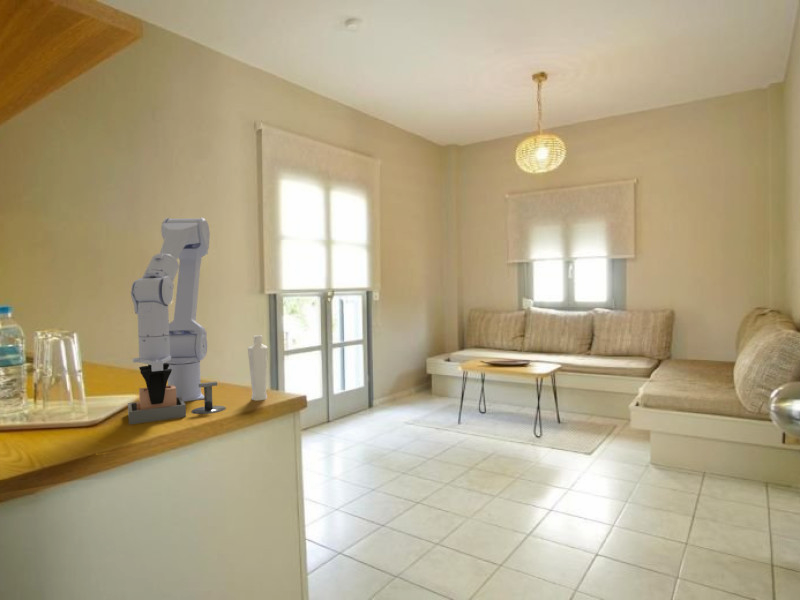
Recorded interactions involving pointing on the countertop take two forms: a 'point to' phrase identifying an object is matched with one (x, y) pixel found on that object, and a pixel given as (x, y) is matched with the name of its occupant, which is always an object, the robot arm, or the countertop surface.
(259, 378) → the perfume bottle
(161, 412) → the tray
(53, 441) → the countertop surface
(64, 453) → the countertop surface
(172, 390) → the pink block
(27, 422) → the countertop surface
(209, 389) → the dark grey stand
